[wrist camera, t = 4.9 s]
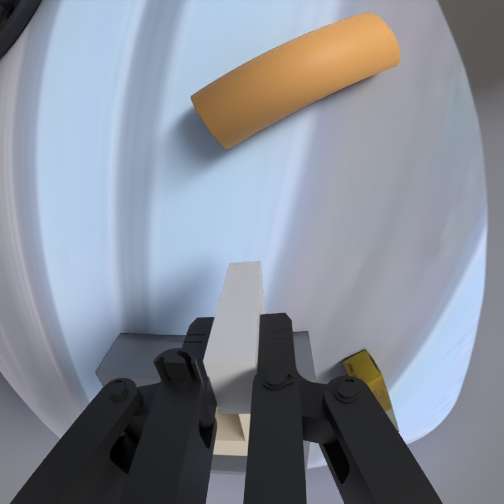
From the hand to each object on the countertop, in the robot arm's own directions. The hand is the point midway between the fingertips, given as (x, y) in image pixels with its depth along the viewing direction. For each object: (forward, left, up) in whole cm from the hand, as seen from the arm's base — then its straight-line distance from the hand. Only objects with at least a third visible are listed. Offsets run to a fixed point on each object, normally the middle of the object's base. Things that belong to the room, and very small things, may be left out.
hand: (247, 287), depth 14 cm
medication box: (+17, +10, -7) cm, 21 cm away
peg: (-8, -2, -5) cm, 10 cm away
